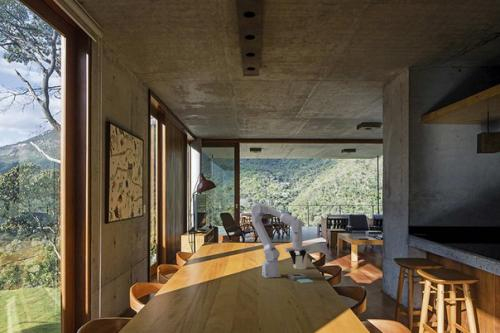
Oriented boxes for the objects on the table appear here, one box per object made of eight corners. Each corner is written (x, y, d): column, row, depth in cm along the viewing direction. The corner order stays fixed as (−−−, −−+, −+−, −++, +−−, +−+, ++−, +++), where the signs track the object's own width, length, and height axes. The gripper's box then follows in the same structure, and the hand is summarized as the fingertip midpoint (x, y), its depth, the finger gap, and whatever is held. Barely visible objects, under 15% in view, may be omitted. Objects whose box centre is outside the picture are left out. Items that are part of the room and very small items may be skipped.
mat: (302, 283, 214) (302, 282, 215) (297, 280, 221) (297, 279, 221) (313, 282, 216) (313, 281, 216) (308, 279, 223) (308, 278, 223)
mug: (307, 267, 257) (306, 249, 258) (306, 269, 251) (306, 250, 251) (291, 266, 259) (291, 248, 260) (290, 269, 253) (290, 250, 253)
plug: (296, 268, 225) (295, 255, 225) (293, 267, 228) (293, 254, 229) (302, 268, 226) (302, 255, 226) (299, 266, 230) (299, 254, 230)
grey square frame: (292, 280, 222) (292, 277, 222) (287, 276, 231) (287, 274, 231) (307, 279, 225) (307, 276, 225) (301, 275, 233) (301, 273, 233)
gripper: (288, 241, 222) (288, 265, 221) (311, 240, 226) (312, 263, 225) (283, 239, 229) (284, 263, 228) (306, 238, 233) (307, 261, 232)
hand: (297, 263), depth 227 cm, fingers closed on plug, 4 cm apart
